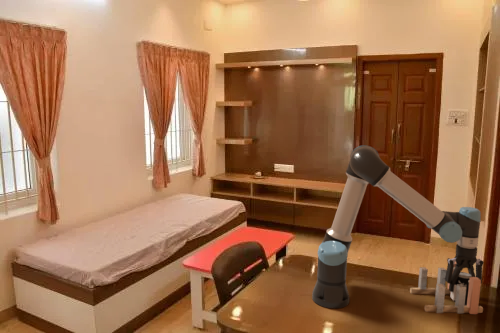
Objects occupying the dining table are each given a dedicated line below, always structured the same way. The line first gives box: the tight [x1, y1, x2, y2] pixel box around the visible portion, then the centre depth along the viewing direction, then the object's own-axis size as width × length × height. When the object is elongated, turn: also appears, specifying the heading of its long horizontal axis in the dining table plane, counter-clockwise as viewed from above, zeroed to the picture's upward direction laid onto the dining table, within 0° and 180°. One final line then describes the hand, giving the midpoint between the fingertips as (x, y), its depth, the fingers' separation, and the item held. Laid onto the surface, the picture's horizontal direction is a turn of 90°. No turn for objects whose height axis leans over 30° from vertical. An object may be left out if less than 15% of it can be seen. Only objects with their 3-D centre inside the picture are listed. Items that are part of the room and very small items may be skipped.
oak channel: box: [409, 287, 484, 314], centre depth 161 cm, size 22×16×2 cm
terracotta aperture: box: [447, 261, 482, 315], centre depth 160 cm, size 3×19×14 cm, turn 179°
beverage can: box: [453, 271, 472, 306], centre depth 160 cm, size 7×7×12 cm
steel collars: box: [417, 266, 466, 314], centre depth 161 cm, size 10×18×11 cm, turn 179°
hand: (461, 298), depth 161 cm, fingers closed on beverage can, 6 cm apart
